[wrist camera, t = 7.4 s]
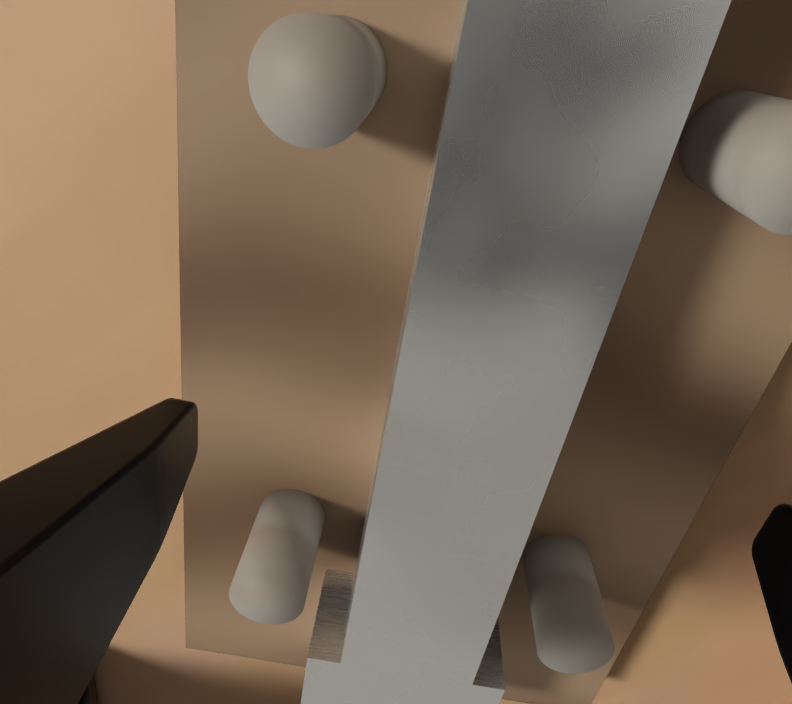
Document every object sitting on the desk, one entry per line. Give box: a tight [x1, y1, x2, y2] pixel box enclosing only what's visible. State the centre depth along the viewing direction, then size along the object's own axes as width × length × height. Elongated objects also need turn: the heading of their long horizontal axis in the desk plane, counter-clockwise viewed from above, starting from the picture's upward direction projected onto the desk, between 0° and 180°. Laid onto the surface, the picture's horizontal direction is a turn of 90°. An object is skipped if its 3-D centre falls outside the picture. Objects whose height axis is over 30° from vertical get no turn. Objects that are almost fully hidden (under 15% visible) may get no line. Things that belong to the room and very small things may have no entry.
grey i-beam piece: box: [301, 0, 741, 704], centre depth 11 cm, size 20×4×2 cm, turn 171°
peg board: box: [175, 0, 792, 704], centre depth 12 cm, size 22×12×4 cm, turn 171°
